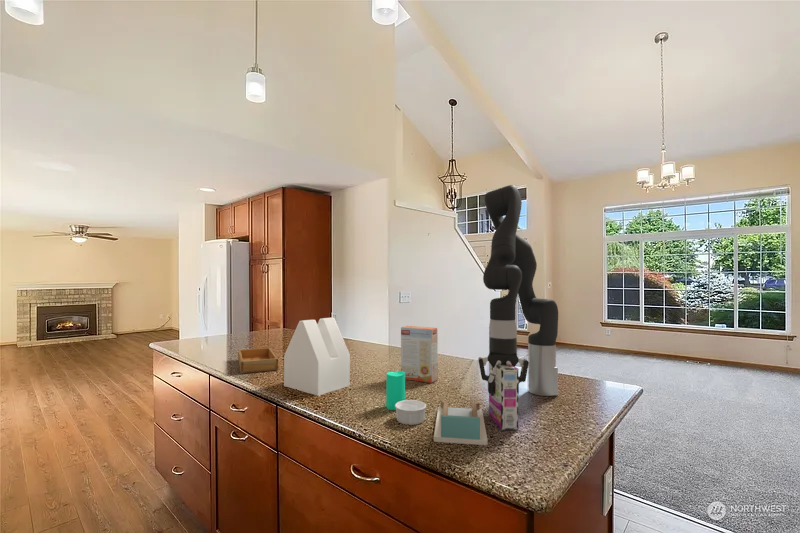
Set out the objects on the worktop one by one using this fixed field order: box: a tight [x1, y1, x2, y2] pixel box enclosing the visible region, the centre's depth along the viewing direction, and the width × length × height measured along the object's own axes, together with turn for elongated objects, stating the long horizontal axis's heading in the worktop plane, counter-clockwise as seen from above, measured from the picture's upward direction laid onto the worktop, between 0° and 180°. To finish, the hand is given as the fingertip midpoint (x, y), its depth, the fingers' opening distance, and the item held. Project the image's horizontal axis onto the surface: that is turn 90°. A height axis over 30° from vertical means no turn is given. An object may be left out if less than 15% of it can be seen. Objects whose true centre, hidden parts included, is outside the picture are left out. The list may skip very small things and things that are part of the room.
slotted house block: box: [283, 317, 351, 396], centre depth 142 cm, size 19×15×25 cm
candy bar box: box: [488, 362, 520, 431], centre depth 106 cm, size 11×5×16 cm, turn 5°
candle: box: [385, 370, 406, 411], centre depth 119 cm, size 6×6×12 cm
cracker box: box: [400, 325, 439, 384], centre depth 151 cm, size 14×6×21 cm, turn 59°
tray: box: [237, 347, 279, 374], centre depth 175 cm, size 31×15×6 cm, turn 25°
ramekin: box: [395, 399, 427, 426], centre depth 108 cm, size 9×9×4 cm
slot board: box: [433, 399, 488, 446], centre depth 103 cm, size 13×22×6 cm, turn 171°
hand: (503, 395), depth 106 cm, fingers closed on candy bar box, 5 cm apart
